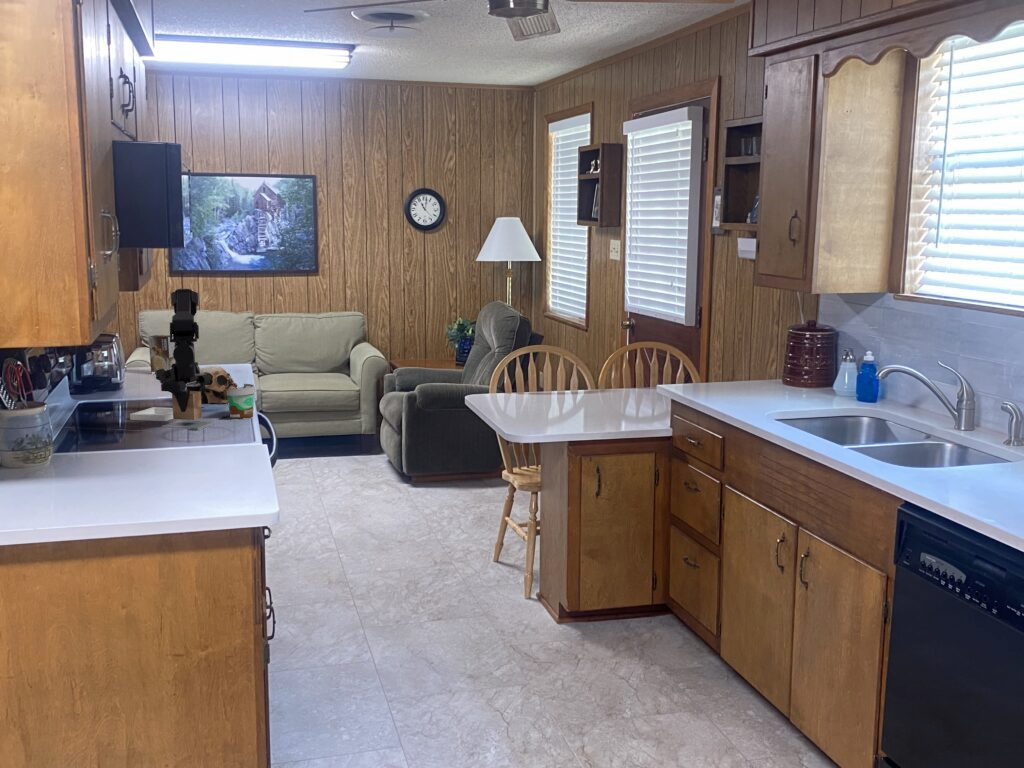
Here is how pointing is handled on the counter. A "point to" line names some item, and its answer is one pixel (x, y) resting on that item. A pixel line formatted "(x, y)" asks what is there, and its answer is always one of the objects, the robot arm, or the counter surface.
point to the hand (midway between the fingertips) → (187, 410)
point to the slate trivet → (189, 424)
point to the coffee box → (161, 352)
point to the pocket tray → (153, 414)
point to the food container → (241, 401)
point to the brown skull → (217, 385)
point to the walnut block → (188, 407)
